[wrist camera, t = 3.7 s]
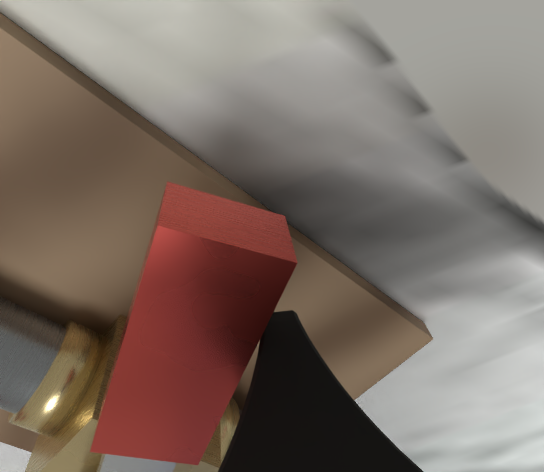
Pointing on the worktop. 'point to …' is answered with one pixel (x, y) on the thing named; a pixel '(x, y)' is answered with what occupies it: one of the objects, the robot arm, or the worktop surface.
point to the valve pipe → (70, 390)
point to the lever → (190, 328)
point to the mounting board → (142, 223)
